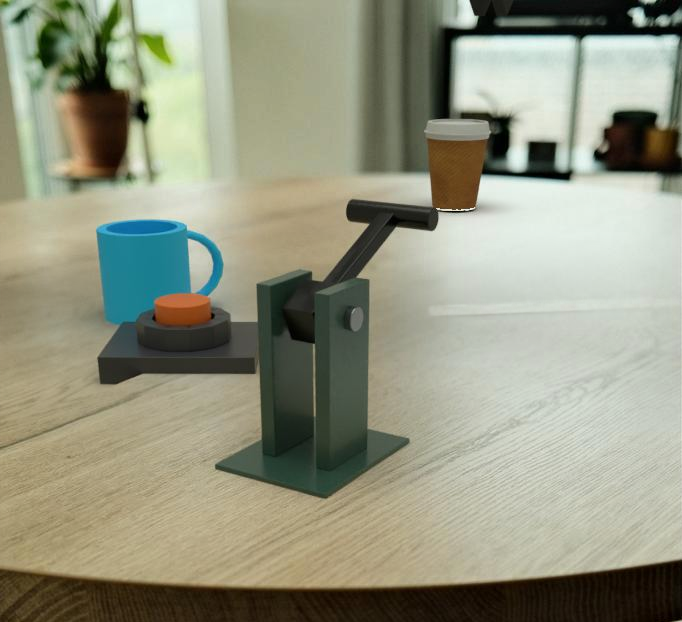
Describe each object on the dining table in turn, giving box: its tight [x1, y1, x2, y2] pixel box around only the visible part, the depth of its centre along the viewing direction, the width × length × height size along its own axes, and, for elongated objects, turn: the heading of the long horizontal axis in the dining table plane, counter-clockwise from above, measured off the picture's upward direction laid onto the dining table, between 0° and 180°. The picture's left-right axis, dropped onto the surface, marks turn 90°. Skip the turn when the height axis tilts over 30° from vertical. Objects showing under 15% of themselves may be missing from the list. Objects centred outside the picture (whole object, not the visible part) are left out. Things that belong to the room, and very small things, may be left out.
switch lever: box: [281, 198, 440, 345], centre depth 62 cm, size 12×6×2 cm, turn 148°
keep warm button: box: [154, 292, 212, 325], centre depth 81 cm, size 4×4×2 cm
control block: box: [96, 306, 259, 385], centre depth 82 cm, size 12×10×4 cm
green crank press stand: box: [214, 268, 410, 499], centre depth 61 cm, size 10×8×12 cm
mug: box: [95, 218, 224, 326], centre depth 95 cm, size 12×8×8 cm
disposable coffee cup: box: [423, 118, 492, 210], centre depth 147 cm, size 10×10×12 cm
